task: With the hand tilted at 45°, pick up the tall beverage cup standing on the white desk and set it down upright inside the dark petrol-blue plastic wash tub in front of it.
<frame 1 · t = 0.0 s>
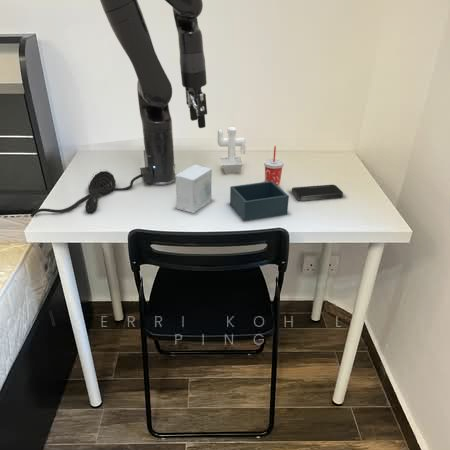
hand: (198, 123, 147), 17 cm above the table, tool pointing down, fingers open, 8 cm apart
beverage cup: (271, 190, 149), on the table
tub: (258, 209, 137), on the table
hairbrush: (98, 196, 143), on the table
cosmetics box: (194, 205, 139), on the table
figurine: (231, 171, 161), on the table
phone: (316, 194, 146), on the table
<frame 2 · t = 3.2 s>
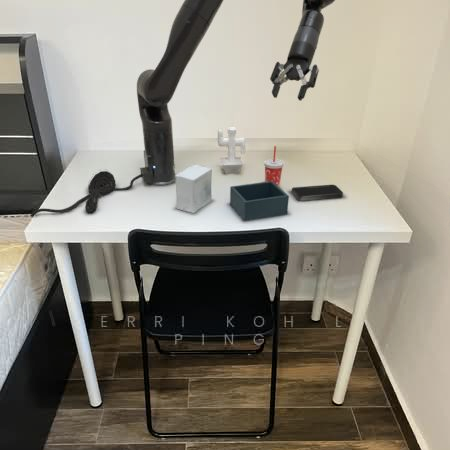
hand: (286, 97, 141), 26 cm above the table, tool tilted 40°, fingers open, 8 cm apart
nothing on the table moved.
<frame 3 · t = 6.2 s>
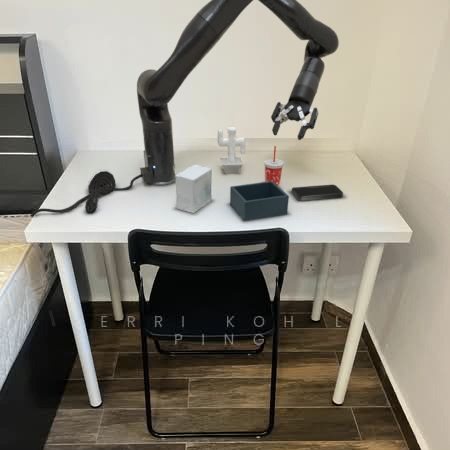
hand: (286, 136, 146), 15 cm above the table, tool tilted 45°, fingers open, 8 cm apart
nothing on the table moved.
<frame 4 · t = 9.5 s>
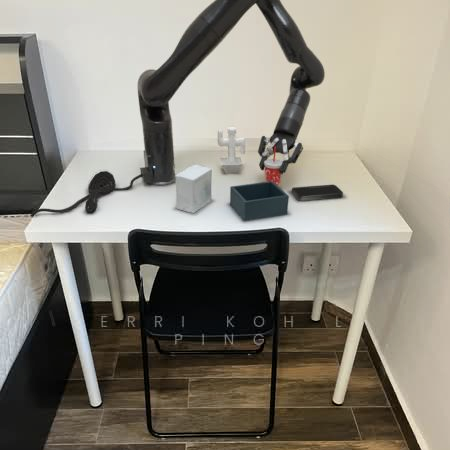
hand: (271, 170, 143), 7 cm above the table, tool tilted 45°, fingers closed on beverage cup, 6 cm apart
beverage cup: (271, 190, 149), on the table, touching gripper
everything else where it was.
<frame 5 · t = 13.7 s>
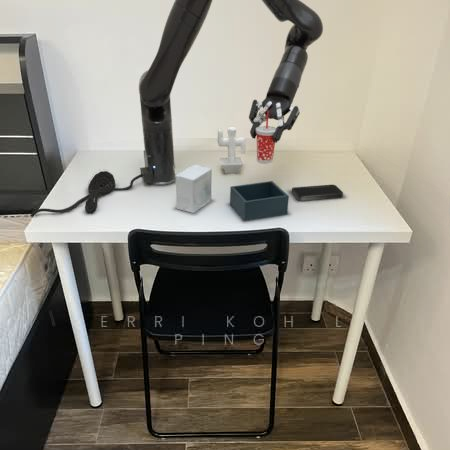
hand: (263, 138, 127), 20 cm above the table, tool tilted 45°, fingers closed on beverage cup, 6 cm apart
beverage cup: (264, 161, 132), point 13 cm above the table, touching gripper
everything else where it was.
when the fingers open (8 cm above the table, at t = 18.2 s): beverage cup stays where it is, resting on tub.
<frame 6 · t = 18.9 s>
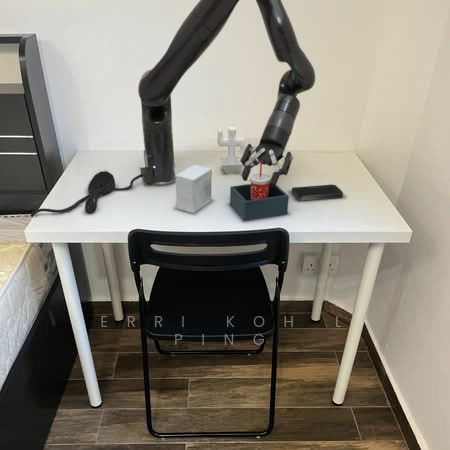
hand: (257, 182, 130), 9 cm above the table, tool tilted 45°, fingers open, 8 cm apart
beverage cup: (258, 207, 136), point 1 cm above the table, touching tub
everything else where it was.
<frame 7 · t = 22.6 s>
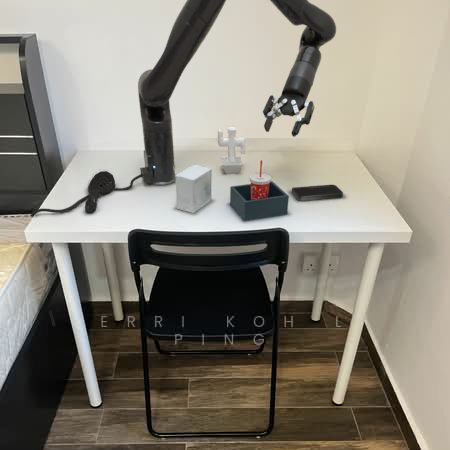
hand: (279, 132, 133), 19 cm above the table, tool tilted 45°, fingers open, 8 cm apart
nothing on the table moved.
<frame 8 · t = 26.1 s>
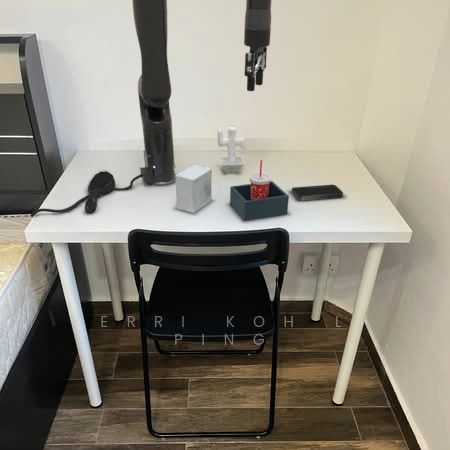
hand: (254, 87, 141), 28 cm above the table, tool pointing down, fingers open, 8 cm apart
nothing on the table moved.
at the end: beverage cup inside the target area in the tub (0.2 cm from its centre), point 0.6 cm above the tub's base; beverage cup tilted 0°; the gripper is holding nothing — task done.
